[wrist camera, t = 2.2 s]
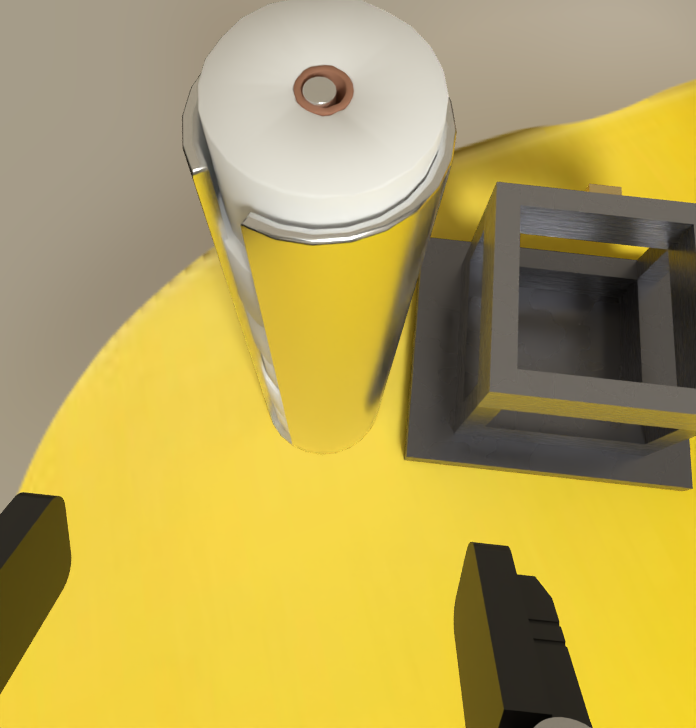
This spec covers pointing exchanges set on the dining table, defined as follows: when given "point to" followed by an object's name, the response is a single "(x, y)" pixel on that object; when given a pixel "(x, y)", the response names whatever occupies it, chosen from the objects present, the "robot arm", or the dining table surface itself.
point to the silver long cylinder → (320, 199)
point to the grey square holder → (560, 342)
